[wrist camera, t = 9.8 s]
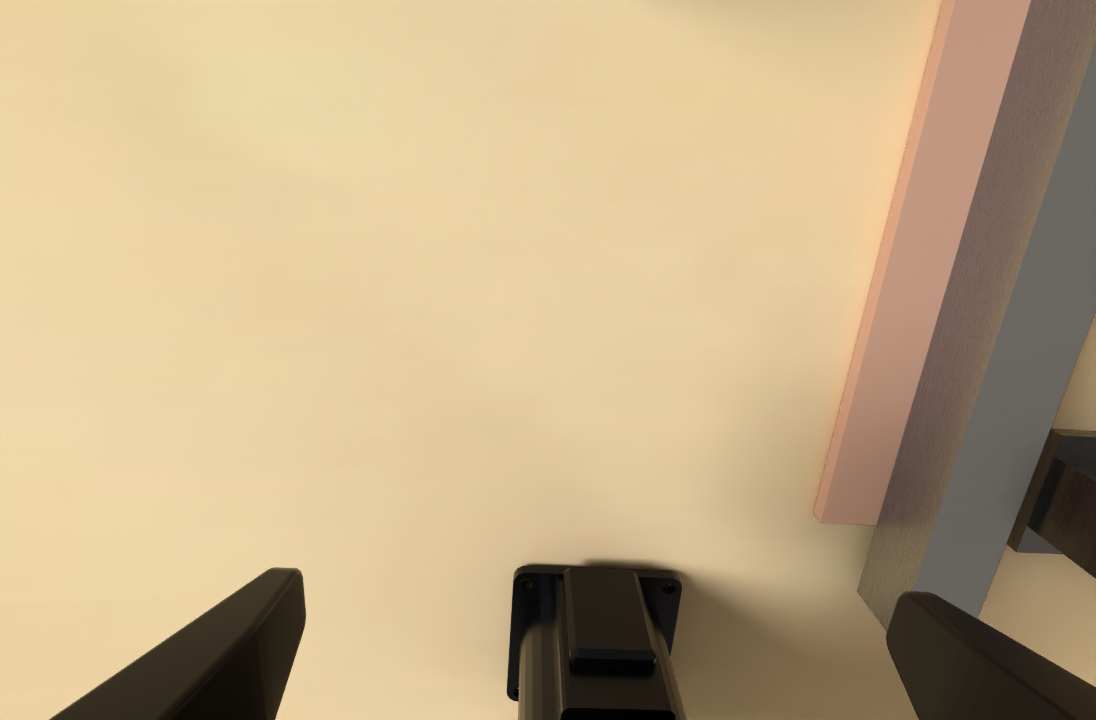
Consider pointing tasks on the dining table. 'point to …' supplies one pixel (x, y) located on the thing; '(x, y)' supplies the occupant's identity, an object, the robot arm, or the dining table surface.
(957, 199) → the mat
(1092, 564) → the post
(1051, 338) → the rail
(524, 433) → the dining table surface
